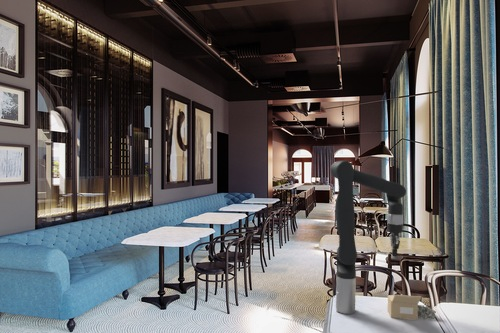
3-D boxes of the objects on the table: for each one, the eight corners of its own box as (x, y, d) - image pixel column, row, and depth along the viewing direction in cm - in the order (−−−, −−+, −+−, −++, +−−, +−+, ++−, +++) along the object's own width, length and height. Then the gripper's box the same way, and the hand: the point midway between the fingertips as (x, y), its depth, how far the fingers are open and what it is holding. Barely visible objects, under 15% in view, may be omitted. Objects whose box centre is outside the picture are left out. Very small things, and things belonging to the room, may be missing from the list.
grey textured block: (436, 320, 176) (437, 312, 176) (420, 319, 177) (420, 311, 177) (428, 311, 187) (428, 303, 187) (413, 310, 188) (413, 302, 188)
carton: (391, 317, 178) (391, 301, 178) (387, 310, 187) (387, 294, 186) (417, 319, 176) (417, 303, 176) (412, 312, 185) (412, 296, 184)
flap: (391, 301, 178) (392, 302, 178) (394, 294, 172) (395, 295, 172) (417, 303, 176) (417, 304, 176) (421, 296, 170) (421, 297, 170)
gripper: (385, 220, 197) (384, 252, 198) (389, 224, 184) (389, 259, 185) (400, 221, 196) (399, 253, 196) (405, 225, 183) (405, 260, 183)
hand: (394, 256), depth 190 cm, fingers closed
